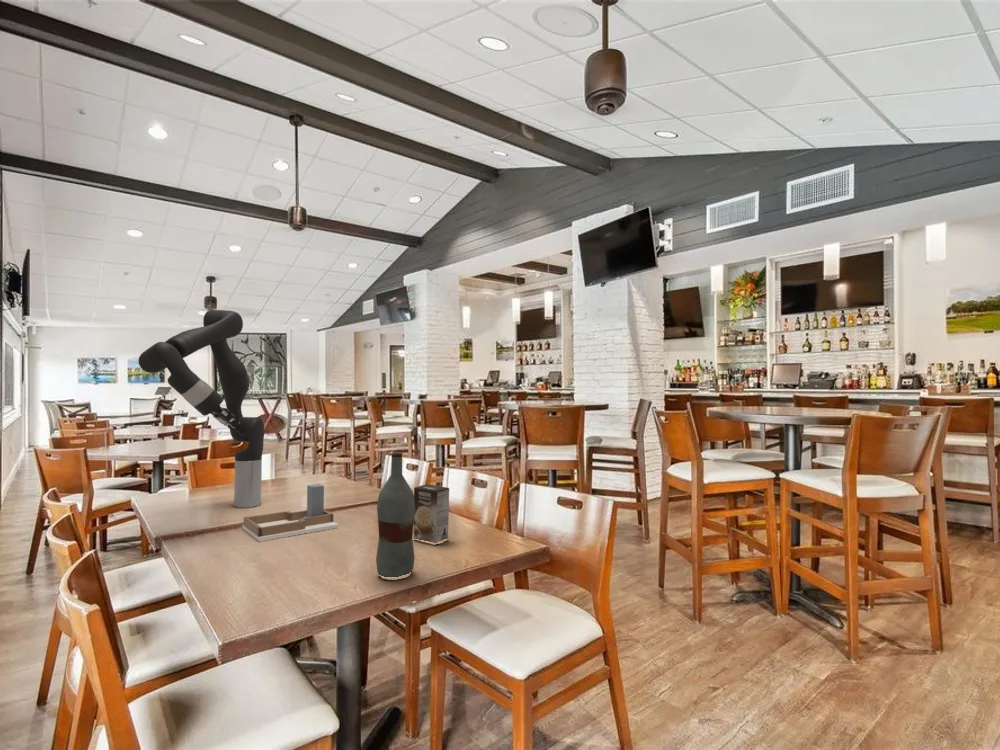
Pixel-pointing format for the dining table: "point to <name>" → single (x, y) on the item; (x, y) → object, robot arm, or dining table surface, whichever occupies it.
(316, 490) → the slate keyhole peg
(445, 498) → the coffee box
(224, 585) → the dining table surface
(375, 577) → the dining table surface
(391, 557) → the bottle
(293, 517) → the keyhole guide board
